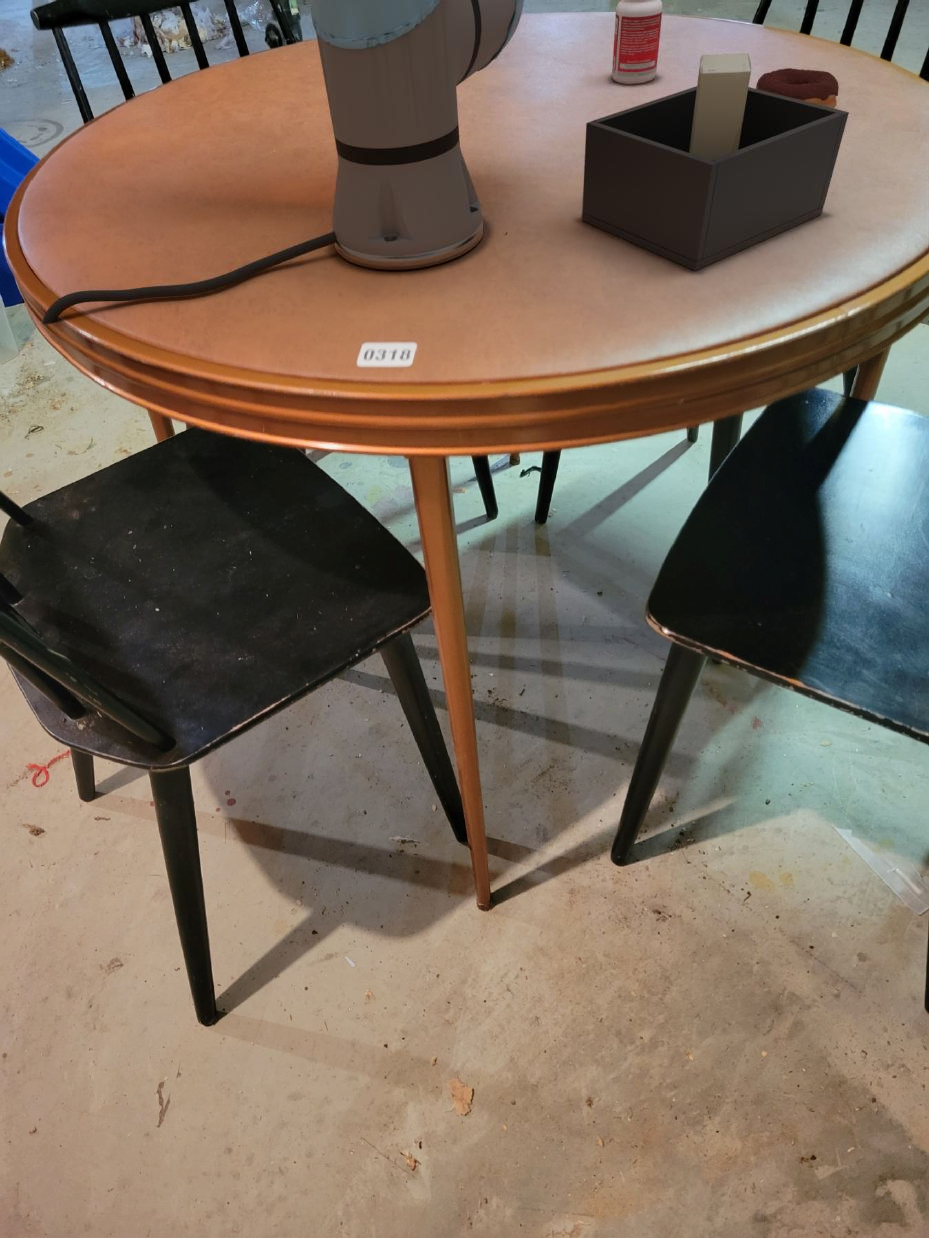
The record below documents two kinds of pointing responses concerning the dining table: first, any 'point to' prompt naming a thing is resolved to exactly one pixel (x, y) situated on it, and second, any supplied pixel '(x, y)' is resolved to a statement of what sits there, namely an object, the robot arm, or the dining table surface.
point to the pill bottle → (636, 40)
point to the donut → (801, 85)
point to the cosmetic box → (719, 104)
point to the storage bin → (708, 175)
